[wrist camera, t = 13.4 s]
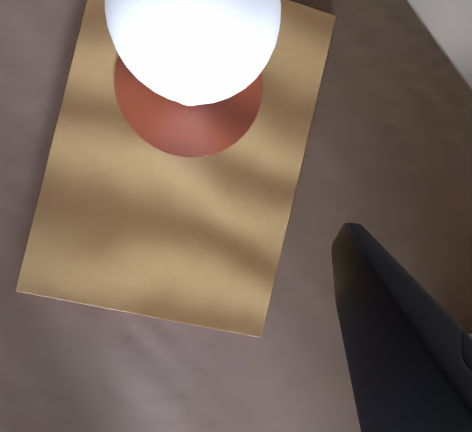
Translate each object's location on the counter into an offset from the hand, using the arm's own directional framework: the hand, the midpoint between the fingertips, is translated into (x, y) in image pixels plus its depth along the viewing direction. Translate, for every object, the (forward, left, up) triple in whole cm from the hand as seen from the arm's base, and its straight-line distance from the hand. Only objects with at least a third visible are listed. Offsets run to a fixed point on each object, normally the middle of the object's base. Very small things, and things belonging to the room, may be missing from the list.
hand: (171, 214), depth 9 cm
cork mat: (+4, 0, -13) cm, 13 cm away
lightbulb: (+7, +1, -12) cm, 14 cm away
